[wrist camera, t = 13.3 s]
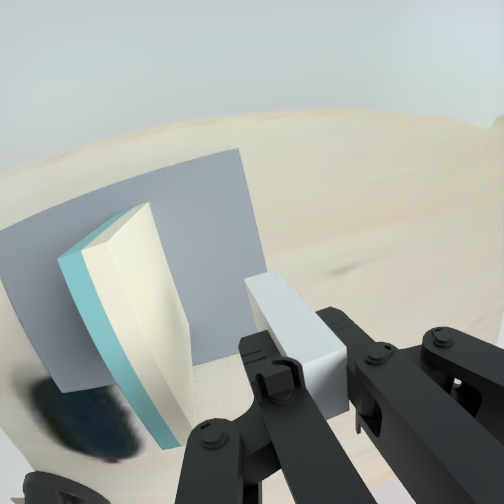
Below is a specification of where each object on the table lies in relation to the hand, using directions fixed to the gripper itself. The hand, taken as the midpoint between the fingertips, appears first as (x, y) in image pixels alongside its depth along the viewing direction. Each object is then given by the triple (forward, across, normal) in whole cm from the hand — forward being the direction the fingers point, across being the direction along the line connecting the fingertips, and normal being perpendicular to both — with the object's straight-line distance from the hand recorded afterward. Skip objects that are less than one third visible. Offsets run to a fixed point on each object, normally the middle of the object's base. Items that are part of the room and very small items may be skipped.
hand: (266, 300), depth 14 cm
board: (+9, -6, 0) cm, 11 cm away
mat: (+10, -9, -1) cm, 13 cm away
